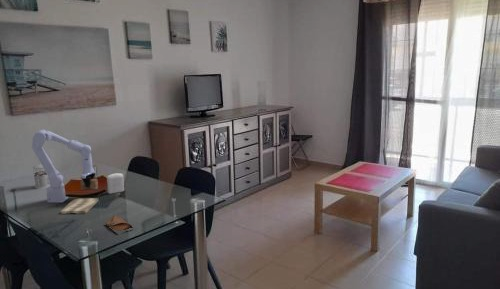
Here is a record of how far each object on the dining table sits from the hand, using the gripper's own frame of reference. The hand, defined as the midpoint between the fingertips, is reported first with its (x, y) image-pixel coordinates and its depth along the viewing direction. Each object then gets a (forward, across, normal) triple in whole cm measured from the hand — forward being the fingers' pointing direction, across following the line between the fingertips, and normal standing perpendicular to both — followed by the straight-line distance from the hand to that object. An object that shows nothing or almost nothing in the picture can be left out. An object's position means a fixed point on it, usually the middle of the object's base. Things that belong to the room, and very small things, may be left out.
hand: (89, 185), depth 235 cm
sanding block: (+2, 0, 0) cm, 2 cm away
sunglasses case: (+8, -43, -30) cm, 53 cm away
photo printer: (+8, +9, -13) cm, 18 cm away
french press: (+8, +21, +41) cm, 47 cm away
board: (+7, -16, 0) cm, 17 cm away
